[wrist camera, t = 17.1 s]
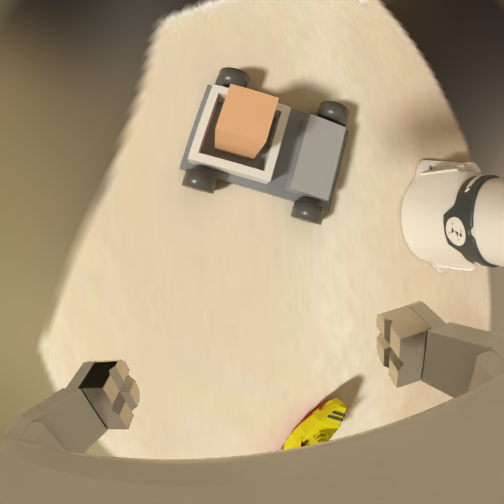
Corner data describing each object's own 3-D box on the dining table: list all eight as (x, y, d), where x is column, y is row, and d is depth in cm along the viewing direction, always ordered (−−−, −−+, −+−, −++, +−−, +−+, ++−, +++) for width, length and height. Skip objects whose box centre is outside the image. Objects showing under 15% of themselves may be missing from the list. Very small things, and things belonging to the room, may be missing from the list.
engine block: (263, 125, 38) (279, 97, 28) (252, 160, 38) (266, 142, 28) (225, 114, 37) (230, 83, 27) (214, 149, 37) (215, 127, 28)
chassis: (348, 120, 40) (360, 112, 36) (321, 226, 41) (332, 227, 37) (212, 75, 37) (212, 62, 33) (176, 184, 38) (172, 181, 34)
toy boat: (259, 459, 45) (269, 499, 35) (317, 384, 44) (340, 419, 34) (289, 466, 46) (302, 504, 36) (347, 395, 45) (373, 428, 35)
